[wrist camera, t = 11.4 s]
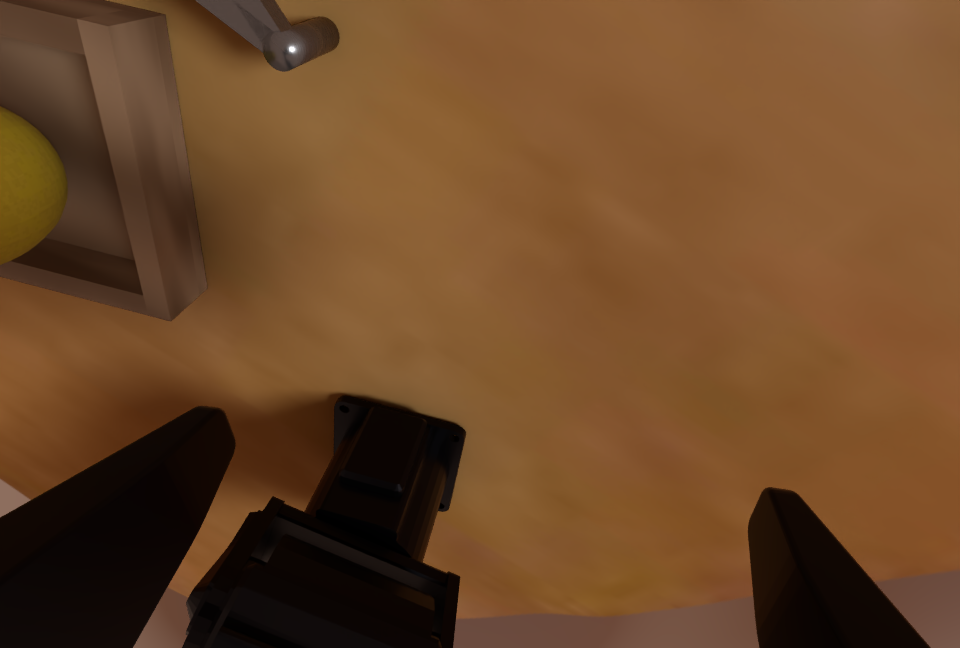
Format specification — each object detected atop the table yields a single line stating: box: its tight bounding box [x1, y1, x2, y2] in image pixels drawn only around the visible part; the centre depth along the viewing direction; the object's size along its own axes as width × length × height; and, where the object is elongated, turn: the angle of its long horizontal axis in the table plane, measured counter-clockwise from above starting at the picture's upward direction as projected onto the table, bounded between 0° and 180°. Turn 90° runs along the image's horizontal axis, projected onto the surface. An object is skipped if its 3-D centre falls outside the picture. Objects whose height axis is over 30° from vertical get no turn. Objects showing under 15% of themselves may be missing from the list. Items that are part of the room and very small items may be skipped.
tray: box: [0, 0, 207, 321], centre depth 21 cm, size 11×11×3 cm
